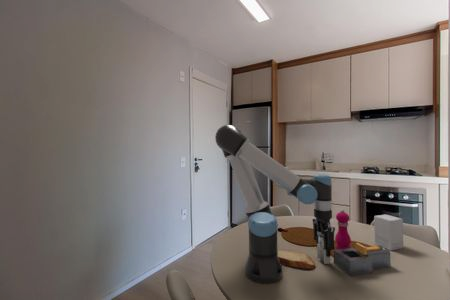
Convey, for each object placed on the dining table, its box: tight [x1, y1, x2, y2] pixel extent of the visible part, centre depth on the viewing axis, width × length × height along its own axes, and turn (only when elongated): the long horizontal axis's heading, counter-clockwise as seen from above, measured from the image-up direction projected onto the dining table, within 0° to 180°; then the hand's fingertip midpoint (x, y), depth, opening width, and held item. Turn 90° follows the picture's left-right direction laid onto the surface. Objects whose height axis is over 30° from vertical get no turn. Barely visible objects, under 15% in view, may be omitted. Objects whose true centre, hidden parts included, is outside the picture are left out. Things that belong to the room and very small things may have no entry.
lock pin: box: [355, 242, 380, 255], centre depth 96 cm, size 9×5×3 cm, turn 100°
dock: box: [333, 245, 391, 277], centre depth 96 cm, size 22×10×7 cm, turn 100°
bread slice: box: [278, 250, 316, 270], centre depth 101 cm, size 18×18×4 cm
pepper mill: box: [334, 208, 352, 250], centre depth 113 cm, size 7×7×20 cm
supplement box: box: [373, 214, 404, 251], centre depth 115 cm, size 9×9×15 cm
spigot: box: [317, 231, 325, 264], centre depth 101 cm, size 5×5×13 cm
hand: (323, 260), depth 101 cm, fingers open, 4 cm apart
